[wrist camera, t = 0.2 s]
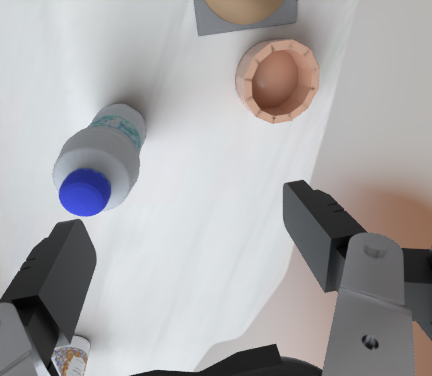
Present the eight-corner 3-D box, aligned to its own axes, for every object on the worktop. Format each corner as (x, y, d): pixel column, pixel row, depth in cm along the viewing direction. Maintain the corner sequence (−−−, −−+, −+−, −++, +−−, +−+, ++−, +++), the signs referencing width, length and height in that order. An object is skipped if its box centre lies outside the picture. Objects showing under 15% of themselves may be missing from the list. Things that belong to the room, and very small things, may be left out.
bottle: (97, 93, 34) (22, 150, 17) (152, 104, 36) (135, 168, 18) (94, 144, 37) (29, 237, 20) (145, 152, 39) (126, 245, 21)
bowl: (232, 45, 34) (241, 46, 30) (302, 35, 35) (321, 35, 30) (238, 117, 38) (246, 127, 34) (300, 107, 39) (316, 116, 35)
